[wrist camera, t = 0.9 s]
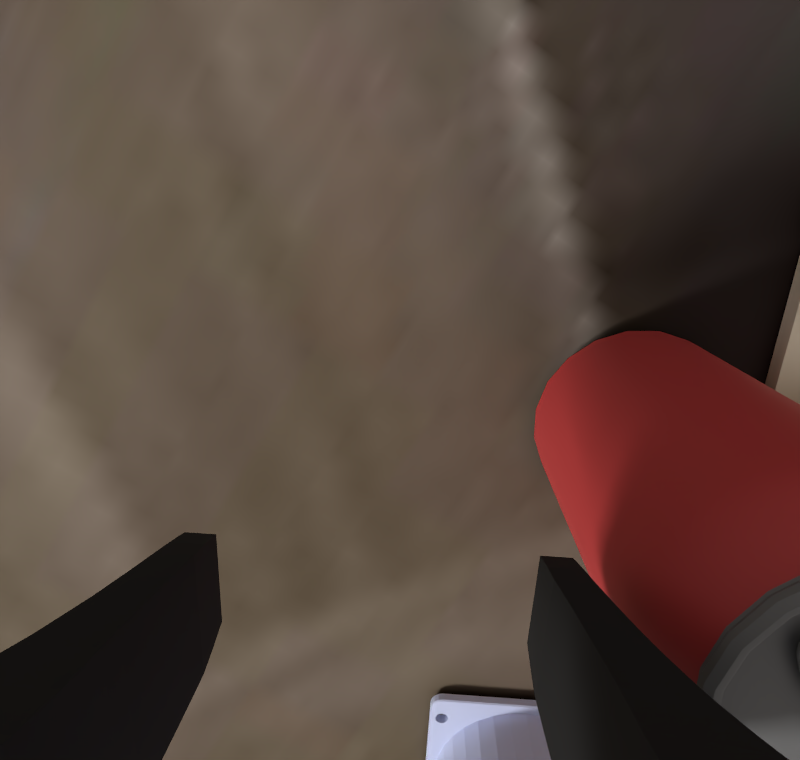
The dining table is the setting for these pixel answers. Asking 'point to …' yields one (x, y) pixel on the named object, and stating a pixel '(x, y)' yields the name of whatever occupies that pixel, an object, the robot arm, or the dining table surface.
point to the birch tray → (788, 347)
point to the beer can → (687, 512)
